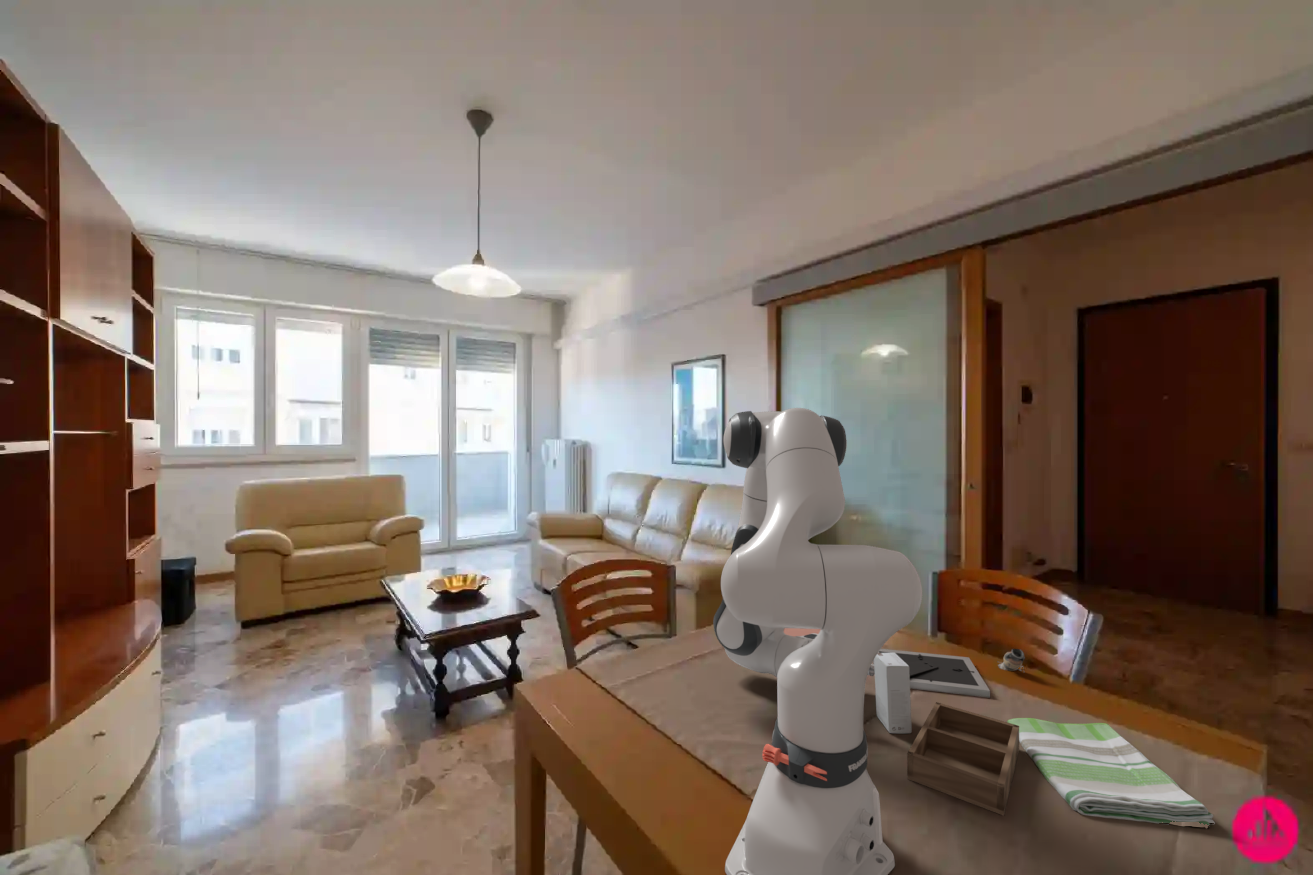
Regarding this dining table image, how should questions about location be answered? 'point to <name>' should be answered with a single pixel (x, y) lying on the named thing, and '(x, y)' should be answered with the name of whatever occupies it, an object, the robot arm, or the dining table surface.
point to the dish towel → (1105, 773)
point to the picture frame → (942, 673)
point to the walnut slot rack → (965, 756)
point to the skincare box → (893, 692)
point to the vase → (1012, 660)
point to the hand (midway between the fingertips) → (867, 679)
